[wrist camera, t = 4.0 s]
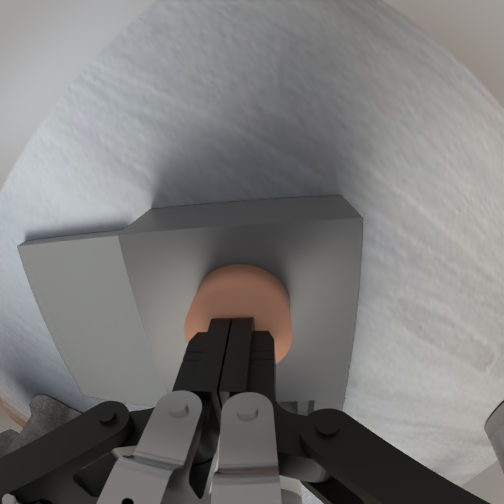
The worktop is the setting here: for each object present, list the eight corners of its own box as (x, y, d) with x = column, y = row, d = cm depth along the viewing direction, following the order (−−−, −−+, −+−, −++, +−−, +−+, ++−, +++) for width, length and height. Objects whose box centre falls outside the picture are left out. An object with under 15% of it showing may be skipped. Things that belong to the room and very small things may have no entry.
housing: (341, 195, 15) (363, 218, 11) (326, 419, 22) (331, 459, 18) (150, 209, 16) (117, 234, 12) (205, 422, 23) (197, 460, 19)
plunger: (285, 238, 14) (291, 286, 10) (288, 311, 16) (293, 372, 12) (200, 243, 15) (174, 291, 10) (212, 314, 16) (195, 373, 12)
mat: (129, 229, 16) (122, 235, 15) (179, 399, 22) (177, 409, 21) (25, 240, 17) (17, 246, 16) (87, 388, 23) (83, 395, 22)
